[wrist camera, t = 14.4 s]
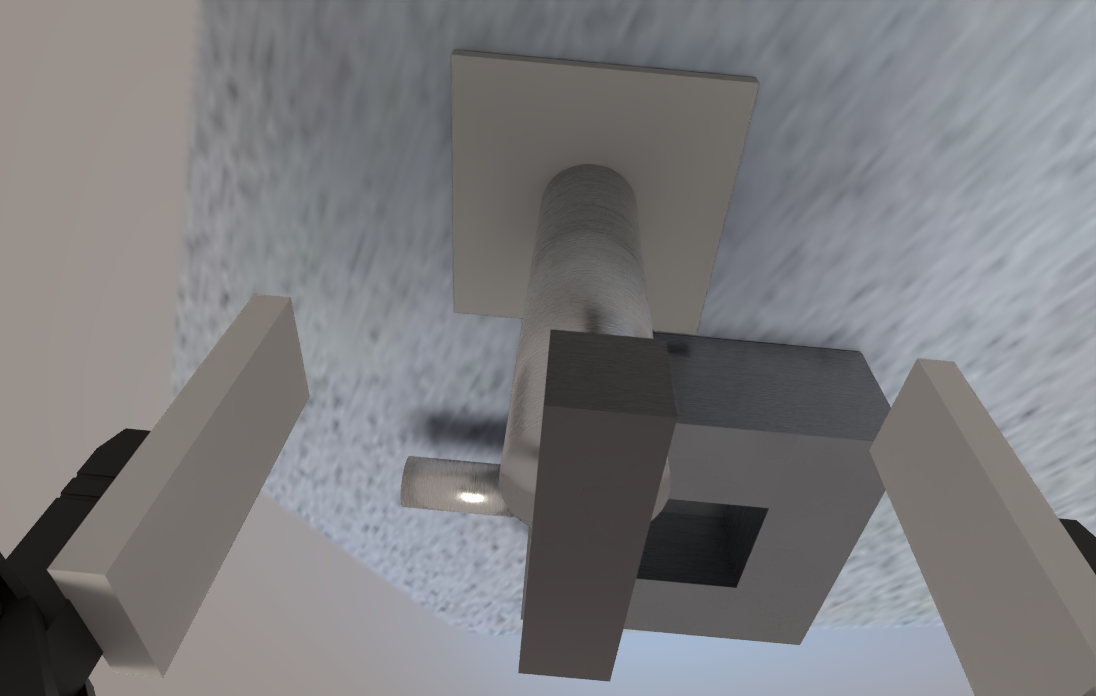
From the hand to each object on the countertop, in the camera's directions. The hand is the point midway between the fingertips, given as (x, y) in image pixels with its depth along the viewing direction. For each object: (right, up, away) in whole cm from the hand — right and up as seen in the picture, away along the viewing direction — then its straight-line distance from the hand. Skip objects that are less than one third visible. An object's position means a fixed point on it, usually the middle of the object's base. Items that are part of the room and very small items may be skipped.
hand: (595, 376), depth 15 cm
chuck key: (0, +5, +8) cm, 9 cm away
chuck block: (+2, -4, +15) cm, 15 cm away
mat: (0, +5, +8) cm, 10 cm away
